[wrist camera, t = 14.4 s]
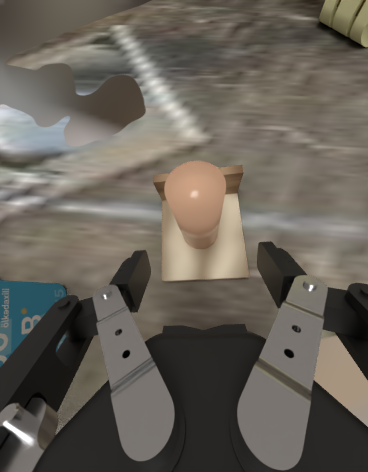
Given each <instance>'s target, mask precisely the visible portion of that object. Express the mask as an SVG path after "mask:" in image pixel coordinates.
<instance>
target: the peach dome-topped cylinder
mask: <svg viewBox="0 0 368 472" xmlns="http://www.w3.org/2000/svg"><path fill="white" fill-rule="evenodd" d="M164 192H165V197H166V199H167V201H168V204H169V206H170V208H171V210H172V213H173V215H174V217H175V219H176V222H177V224H178V226H179V229H180V231H181V233H182V235H183V238H184V240H185V242H186V243H187V244H188V245H189V246H191V247H192V248H195V249H205V248H208V247H210V246H211V245H212V244H213V243H214V242H215V241H216V239H217V235H218V230H219V225H220V219H221V214H222V208H223V203H224V197H225V192H226V181H225V178H224V175H223V174H222V172H221V171H220V170H219V169H218V168H217V167H216V166H214V165H212V164H210V163H208V162H204V161H191V162H187V163H184V164H181V165H180V166H178V167H176V168H175V169H174V170H173V171H172V172H171V173H170V174H169V176H168V178H167V180H166V182H165V187H164Z"/></svg>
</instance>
